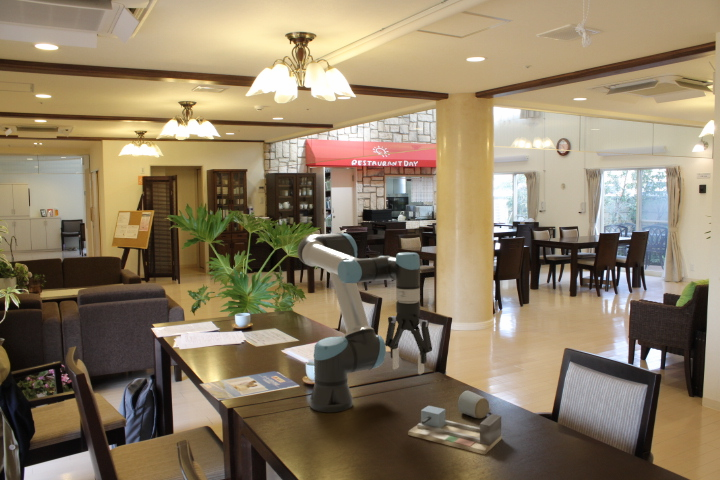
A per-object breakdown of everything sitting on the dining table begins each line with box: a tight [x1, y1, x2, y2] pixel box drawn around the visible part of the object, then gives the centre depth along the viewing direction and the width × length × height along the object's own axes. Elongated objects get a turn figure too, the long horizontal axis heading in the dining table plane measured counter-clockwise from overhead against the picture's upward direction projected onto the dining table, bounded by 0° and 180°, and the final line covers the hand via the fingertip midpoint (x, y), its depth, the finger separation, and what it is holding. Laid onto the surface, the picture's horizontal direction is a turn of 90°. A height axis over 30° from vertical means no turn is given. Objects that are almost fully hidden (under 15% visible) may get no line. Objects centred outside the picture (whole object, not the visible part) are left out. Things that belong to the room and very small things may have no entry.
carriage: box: [420, 405, 447, 428], centre depth 180 cm, size 6×9×5 cm, turn 145°
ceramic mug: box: [457, 390, 492, 420], centre depth 193 cm, size 11×8×8 cm
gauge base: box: [407, 413, 503, 455], centre depth 176 cm, size 25×13×7 cm, turn 55°
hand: (408, 370), depth 186 cm, fingers open, 9 cm apart
